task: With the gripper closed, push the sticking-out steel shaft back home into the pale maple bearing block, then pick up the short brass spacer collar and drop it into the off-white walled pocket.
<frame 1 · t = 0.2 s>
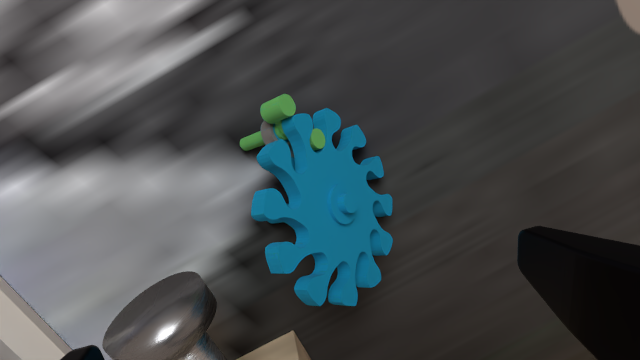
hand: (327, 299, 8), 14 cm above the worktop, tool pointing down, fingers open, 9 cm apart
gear: (314, 173, 22), on the worktop
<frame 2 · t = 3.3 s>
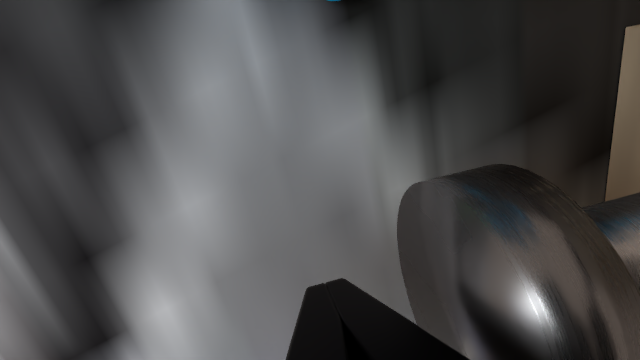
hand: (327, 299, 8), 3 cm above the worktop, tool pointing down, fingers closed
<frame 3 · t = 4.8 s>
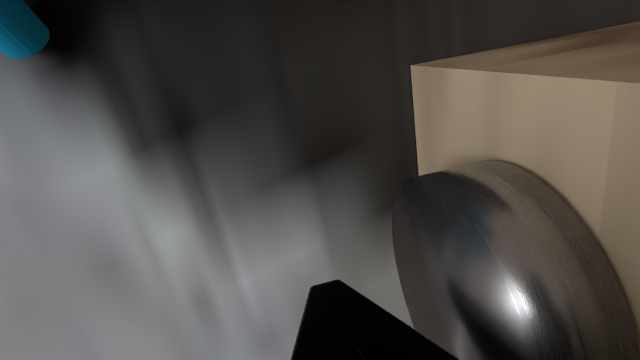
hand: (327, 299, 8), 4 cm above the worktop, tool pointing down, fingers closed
bearing block: (522, 174, 12), on the worktop
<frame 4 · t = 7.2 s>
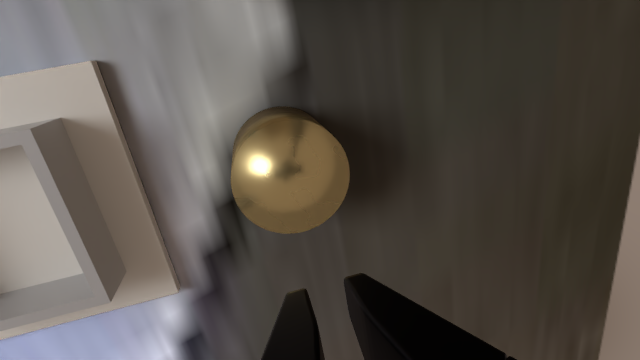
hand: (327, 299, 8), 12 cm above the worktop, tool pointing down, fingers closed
spacer: (282, 154, 19), on the worktop
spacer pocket: (12, 216, 17), on the worktop
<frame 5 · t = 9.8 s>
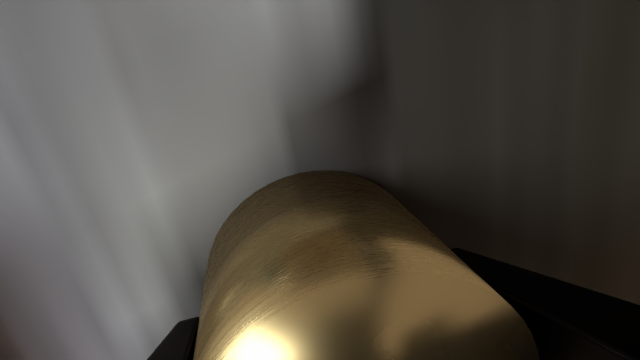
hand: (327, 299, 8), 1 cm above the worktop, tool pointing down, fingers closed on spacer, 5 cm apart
spacer: (317, 272, 9), on the worktop, touching gripper
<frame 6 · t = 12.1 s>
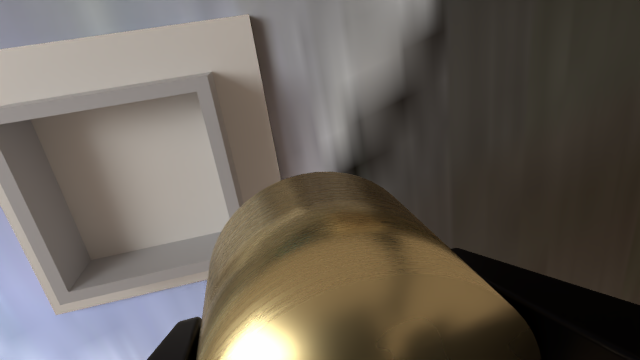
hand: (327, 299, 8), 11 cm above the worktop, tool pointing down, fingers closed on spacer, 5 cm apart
spacer: (319, 273, 9), point 10 cm above the worktop, touching gripper
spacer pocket: (147, 172, 17), on the worktop
when the fingers open (4 cm above the worktop, at t = 14.7 s): spacer drops 2 cm, resting on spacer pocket.
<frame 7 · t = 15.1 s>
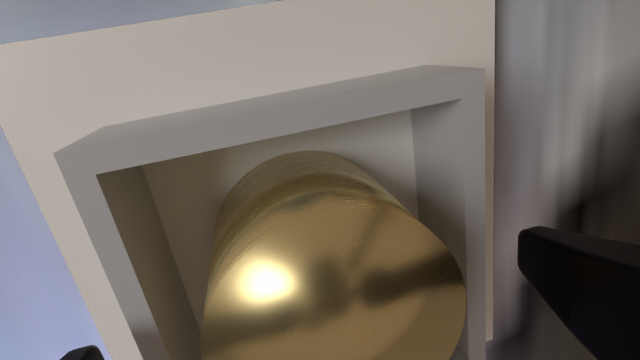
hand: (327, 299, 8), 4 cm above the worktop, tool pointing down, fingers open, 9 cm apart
spacer: (305, 236, 10), point 1 cm above the worktop, touching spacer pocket
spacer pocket: (299, 226, 11), on the worktop
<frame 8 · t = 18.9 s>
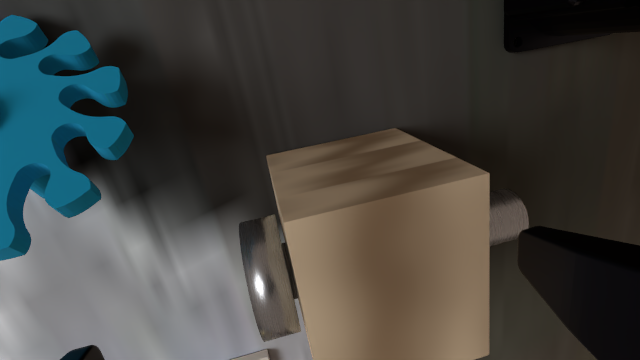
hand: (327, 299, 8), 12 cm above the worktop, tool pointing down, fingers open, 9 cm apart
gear: (21, 112, 16), on the worktop
shaft: (388, 244, 17), point 5 cm above the worktop, slide at 0.0 cm
bearing block: (342, 210, 21), on the worktop
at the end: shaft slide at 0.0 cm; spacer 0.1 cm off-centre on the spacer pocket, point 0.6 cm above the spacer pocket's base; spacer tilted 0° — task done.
